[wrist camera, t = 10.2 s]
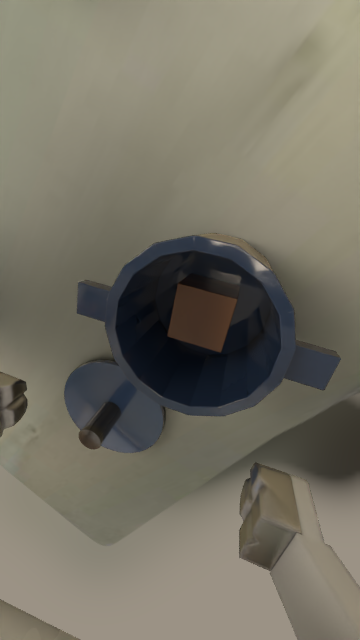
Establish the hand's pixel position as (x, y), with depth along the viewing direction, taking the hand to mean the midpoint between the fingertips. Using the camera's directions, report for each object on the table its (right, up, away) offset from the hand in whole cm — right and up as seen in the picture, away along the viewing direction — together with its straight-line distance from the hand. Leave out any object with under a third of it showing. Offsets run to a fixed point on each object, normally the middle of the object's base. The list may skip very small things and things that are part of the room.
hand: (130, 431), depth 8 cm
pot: (+5, +5, +15) cm, 17 cm away
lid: (-6, -7, +22) cm, 24 cm away
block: (+4, +5, +15) cm, 16 cm away
